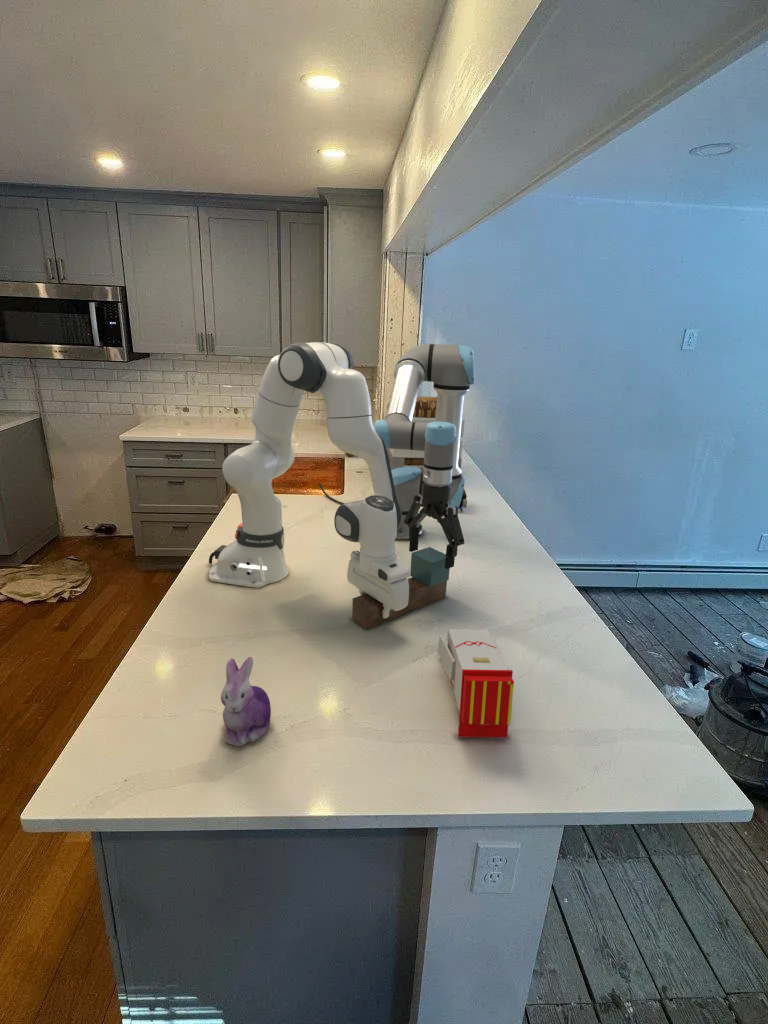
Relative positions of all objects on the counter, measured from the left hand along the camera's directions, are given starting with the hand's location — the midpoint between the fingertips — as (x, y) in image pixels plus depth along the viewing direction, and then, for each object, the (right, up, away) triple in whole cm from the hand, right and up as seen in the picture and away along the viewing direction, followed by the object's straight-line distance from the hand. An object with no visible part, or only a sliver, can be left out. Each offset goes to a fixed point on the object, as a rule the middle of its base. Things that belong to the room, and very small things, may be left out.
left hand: (375, 610), depth 144 cm
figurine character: (+32, +27, +85) cm, 95 cm away
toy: (+20, -12, -26) cm, 35 cm away
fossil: (-12, +57, +163) cm, 173 cm away
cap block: (+15, +7, +10) cm, 19 cm away
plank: (+7, 0, +6) cm, 9 cm away
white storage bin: (+19, +44, +131) cm, 139 cm away
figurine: (-23, -15, -39) cm, 48 cm away
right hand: (+15, +13, +8) cm, 21 cm away
